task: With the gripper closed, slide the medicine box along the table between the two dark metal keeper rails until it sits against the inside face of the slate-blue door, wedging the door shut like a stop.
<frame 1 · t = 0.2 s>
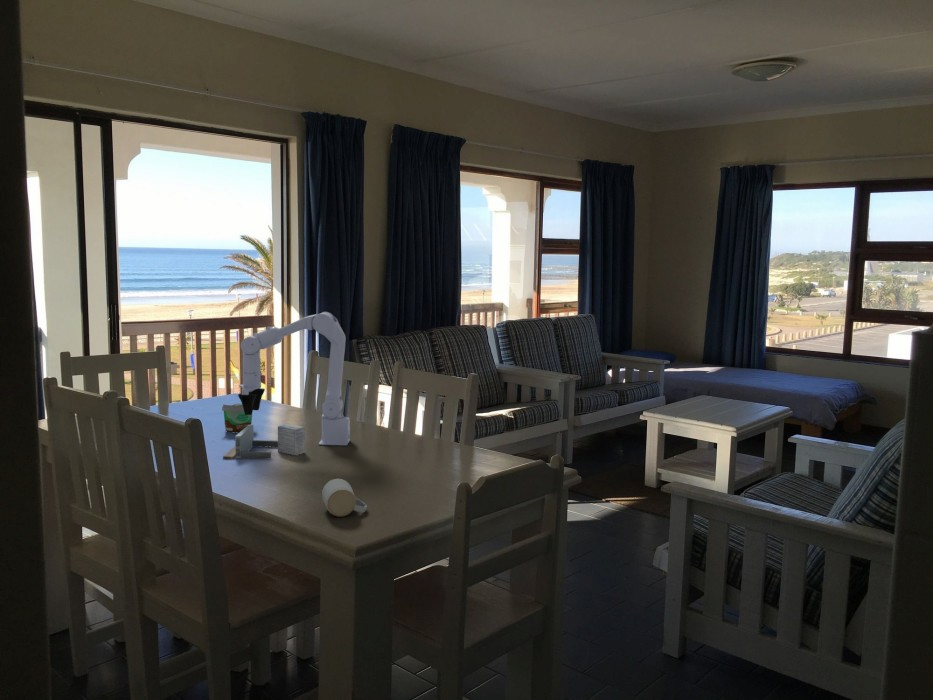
hand: (251, 412, 252), 10 cm above the table, tool pointing down, fingers open, 7 cm apart
food container: (242, 431, 267), on the table
door panel: (244, 451, 240), on the table
medicine box: (291, 453, 240), on the table
ceramic mug: (344, 513, 186), on the table
keeper cleats: (259, 452, 240), on the table
threshold strip: (236, 451, 239), on the table
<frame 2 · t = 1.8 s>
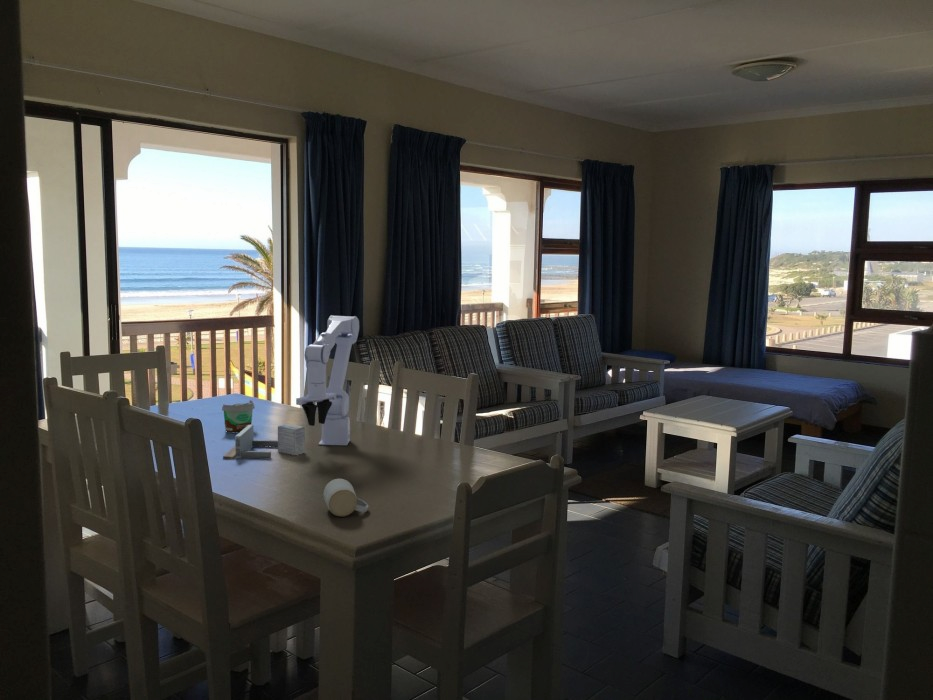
hand: (316, 424, 239), 9 cm above the table, tool pointing down, fingers open, 3 cm apart
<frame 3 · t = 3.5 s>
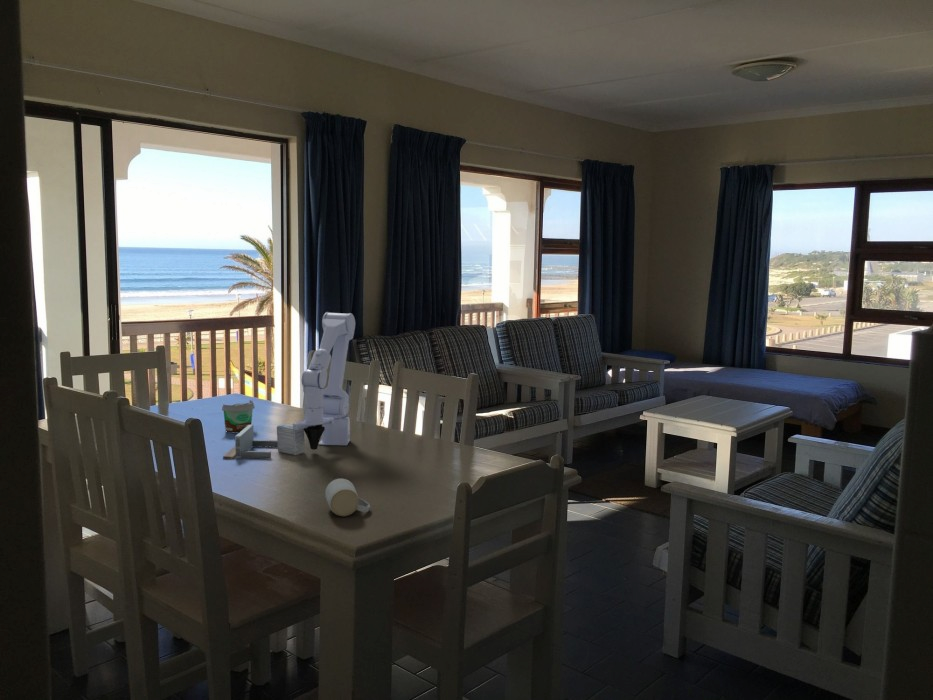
hand: (313, 448, 240), 1 cm above the table, tool pointing down, fingers closed
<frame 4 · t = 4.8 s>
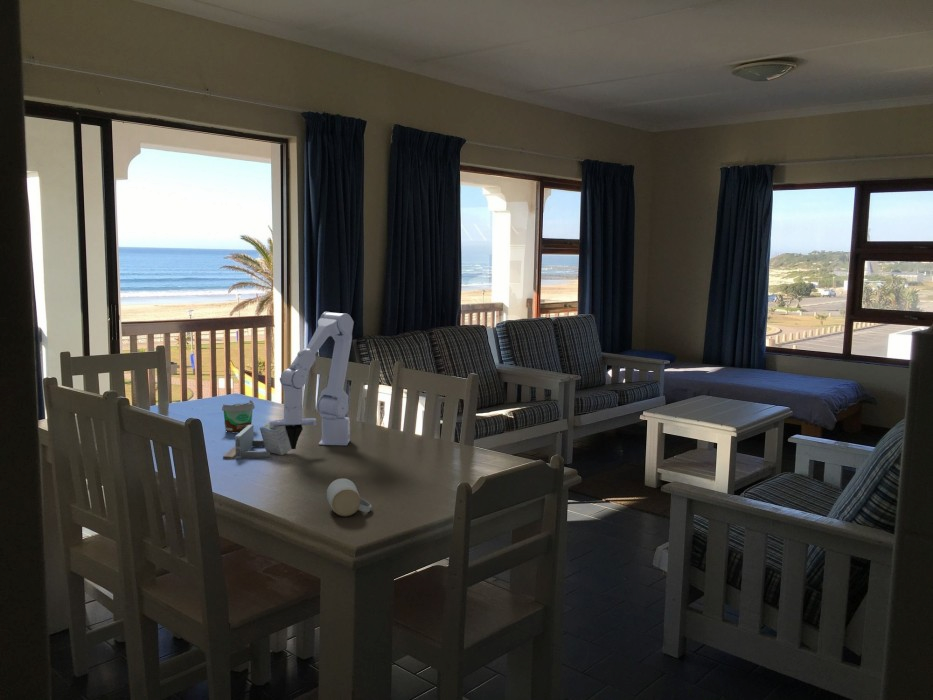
hand: (293, 448, 240), 1 cm above the table, tool pointing down, fingers closed
medicine box: (279, 451, 240), on the table, touching gripper
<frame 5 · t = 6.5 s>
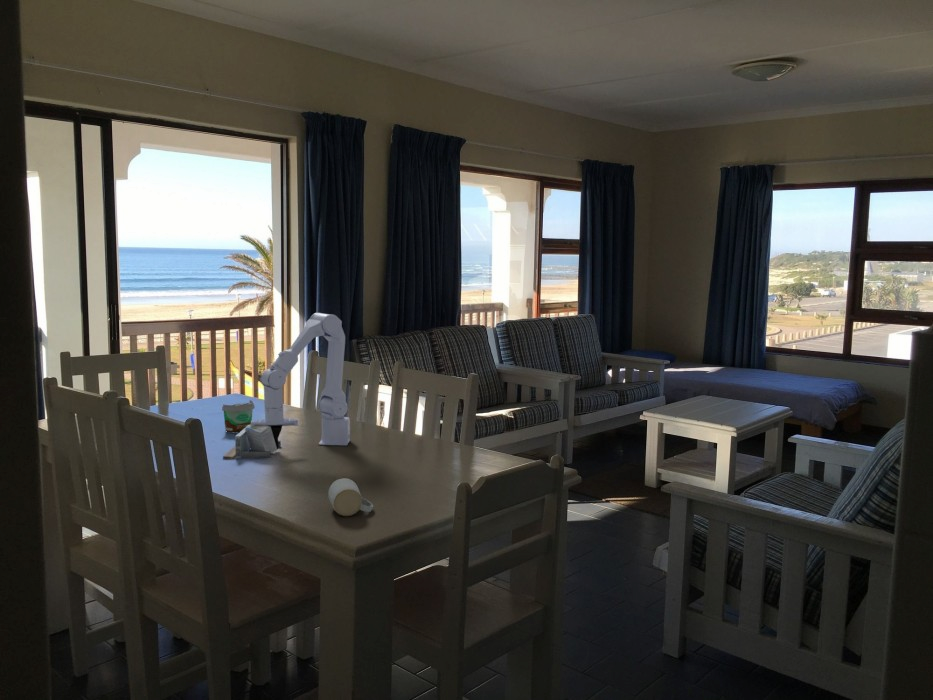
hand: (275, 448, 240), 1 cm above the table, tool pointing down, fingers closed, pressing on medicine box
medicine box: (264, 451, 239), on the table, touching door panel, gripper
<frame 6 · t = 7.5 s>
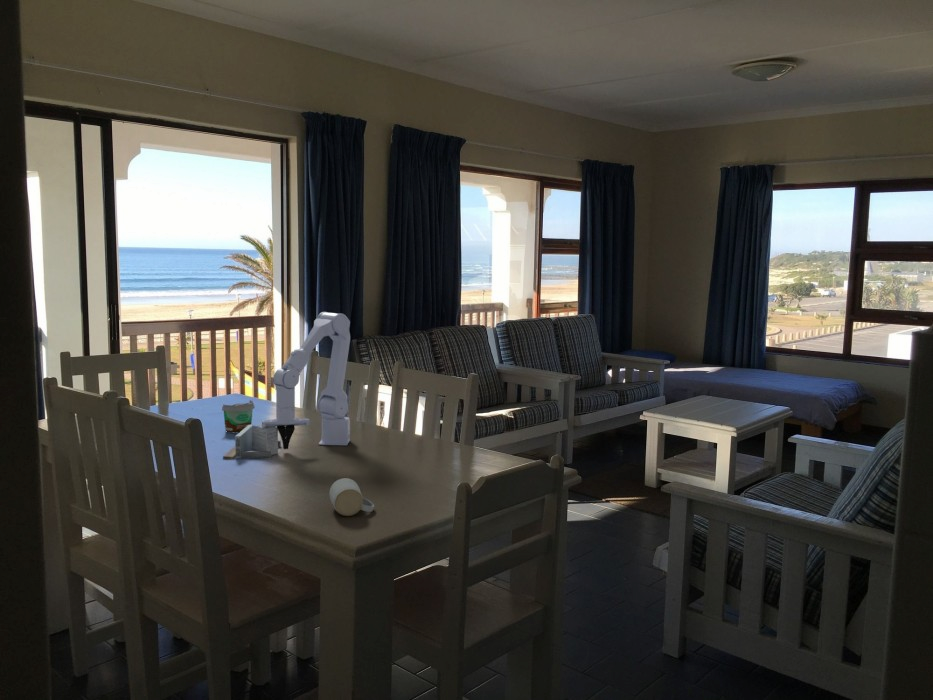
hand: (285, 448, 240), 1 cm above the table, tool pointing down, fingers closed
medicine box: (265, 453, 239), on the table, touching gripper
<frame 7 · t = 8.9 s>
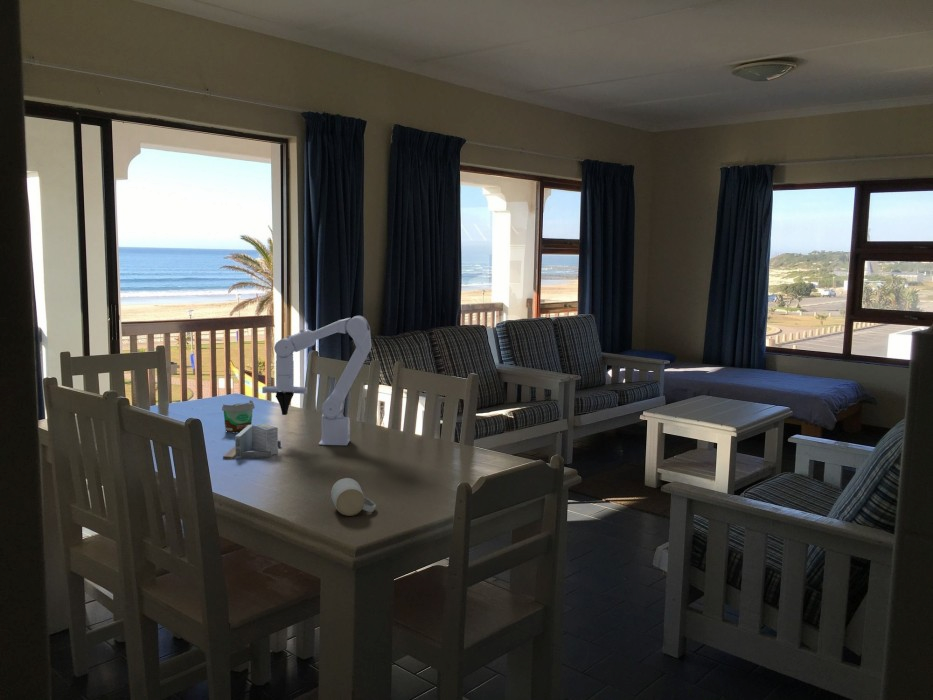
hand: (284, 414, 253), 9 cm above the table, tool pointing down, fingers closed
medicine box: (265, 453, 239), on the table
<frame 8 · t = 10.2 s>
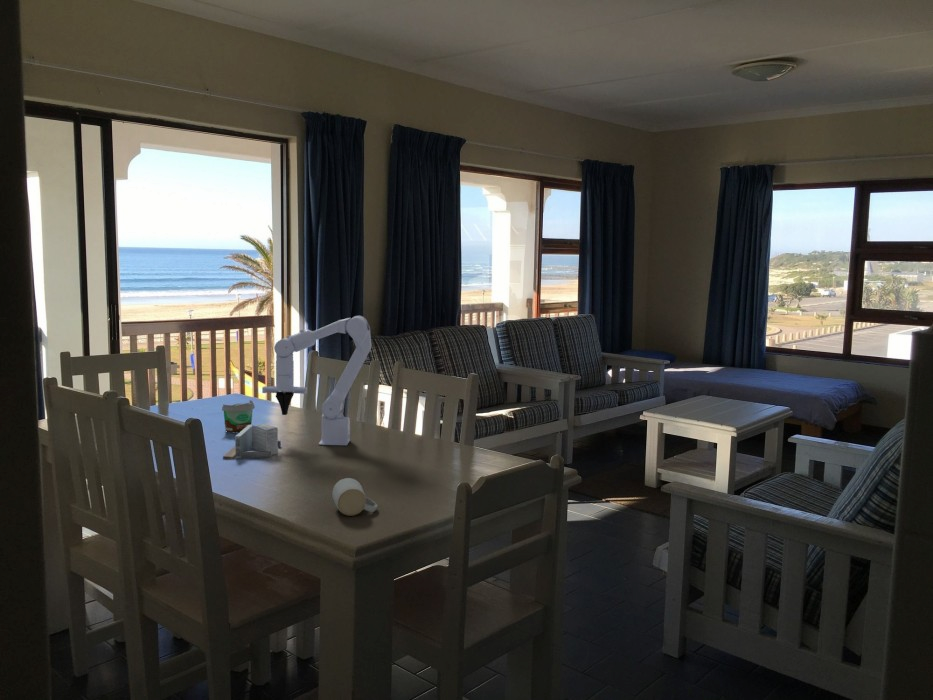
hand: (284, 414, 253), 9 cm above the table, tool pointing down, fingers closed
at the end: medicine box 2.7 cm off-centre on the keeper cleats, point 0.0 cm above the keeper cleats's base; medicine box tilted 0°; medicine box moved 8.2 cm from its start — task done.
